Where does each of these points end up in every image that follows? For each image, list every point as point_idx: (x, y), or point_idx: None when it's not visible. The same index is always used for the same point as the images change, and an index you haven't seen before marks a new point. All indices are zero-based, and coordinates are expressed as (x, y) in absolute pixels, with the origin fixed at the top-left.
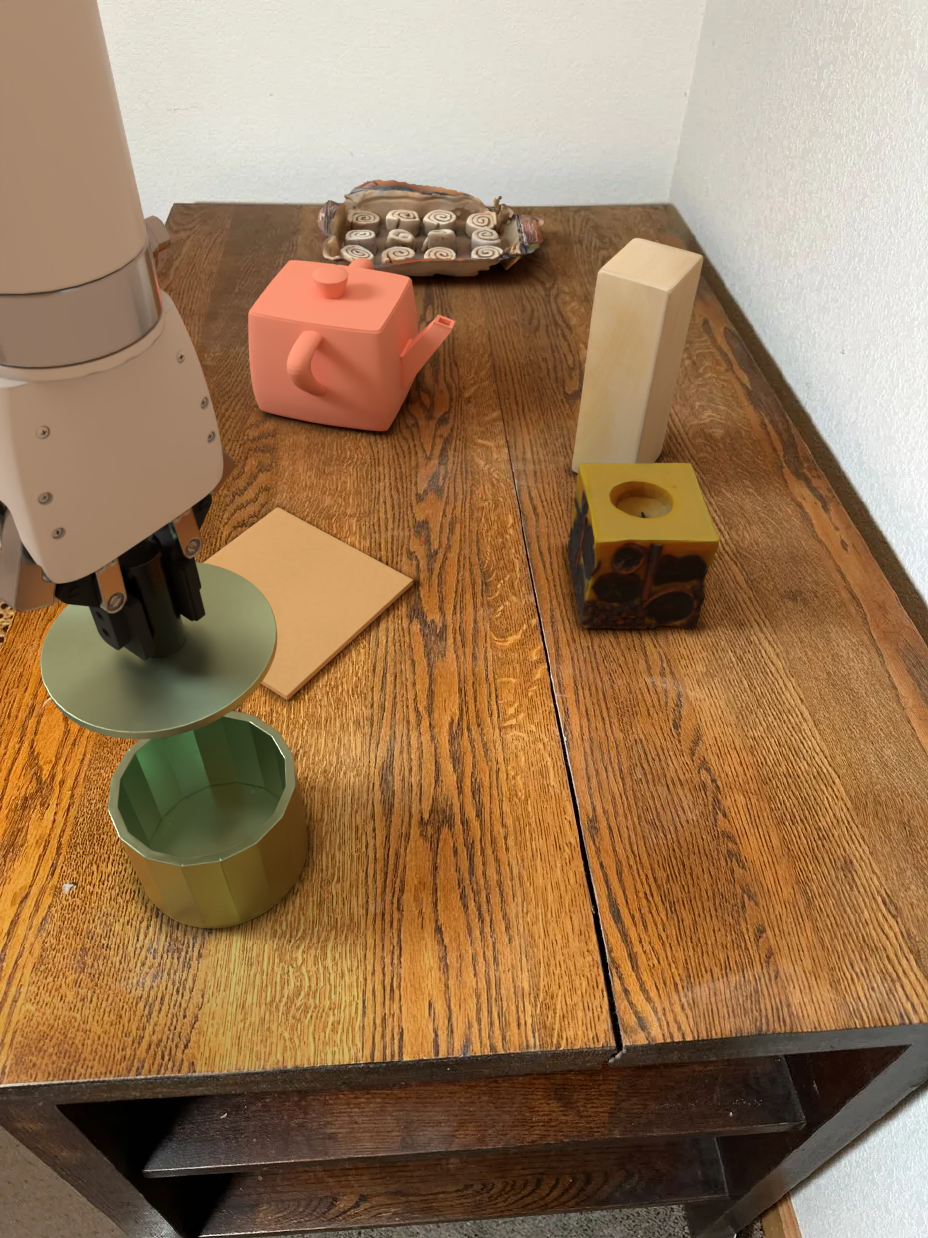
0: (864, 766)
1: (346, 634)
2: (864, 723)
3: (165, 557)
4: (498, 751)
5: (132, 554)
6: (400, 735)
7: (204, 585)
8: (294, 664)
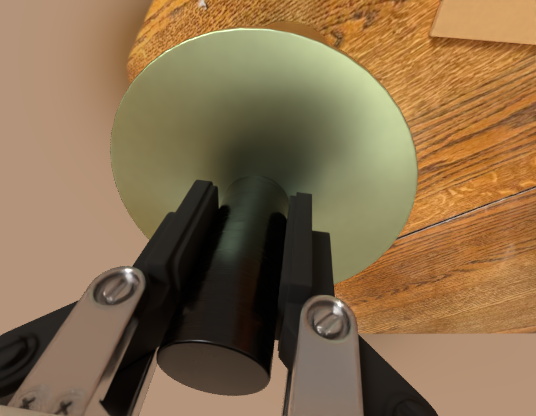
0: (465, 320)
1: (529, 37)
2: (495, 319)
3: (282, 321)
4: (425, 194)
5: (201, 375)
6: (419, 137)
7: (368, 192)
8: (474, 14)
